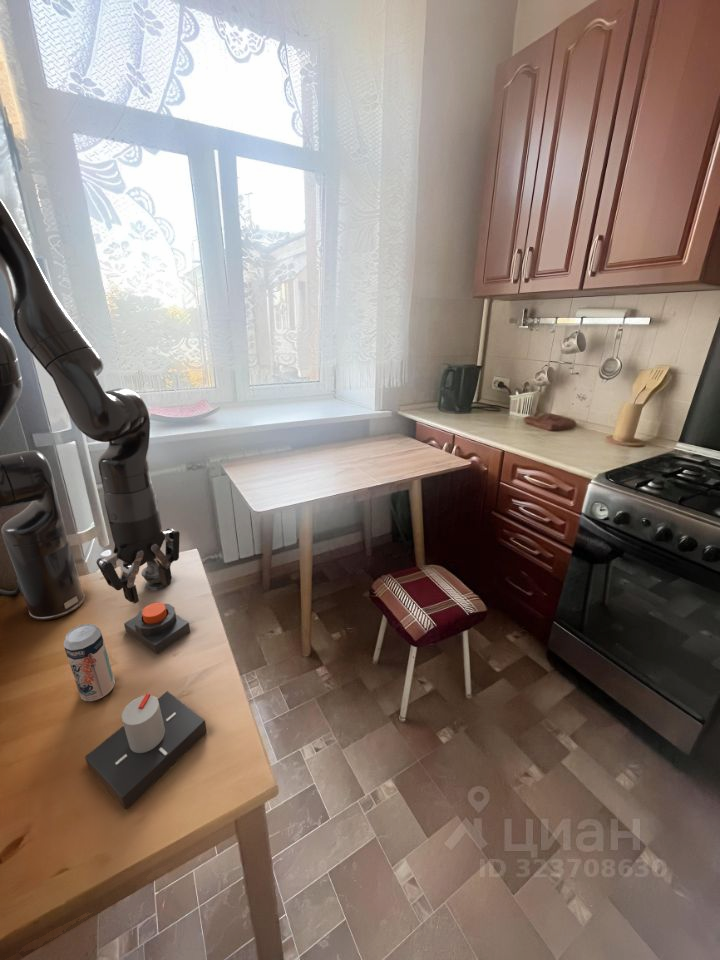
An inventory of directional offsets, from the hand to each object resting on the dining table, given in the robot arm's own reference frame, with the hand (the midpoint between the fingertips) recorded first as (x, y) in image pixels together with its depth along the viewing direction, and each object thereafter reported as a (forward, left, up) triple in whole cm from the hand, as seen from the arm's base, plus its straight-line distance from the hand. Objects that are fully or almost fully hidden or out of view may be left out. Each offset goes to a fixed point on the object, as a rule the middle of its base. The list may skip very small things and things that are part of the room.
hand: (150, 591), depth 73 cm
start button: (0, 0, -6) cm, 6 cm away
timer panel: (+20, -14, -9) cm, 26 cm away
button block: (0, 0, -9) cm, 9 cm away
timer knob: (+20, -14, -7) cm, 25 cm away
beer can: (+4, -13, -10) cm, 17 cm away
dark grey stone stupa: (-14, +9, -10) cm, 19 cm away
